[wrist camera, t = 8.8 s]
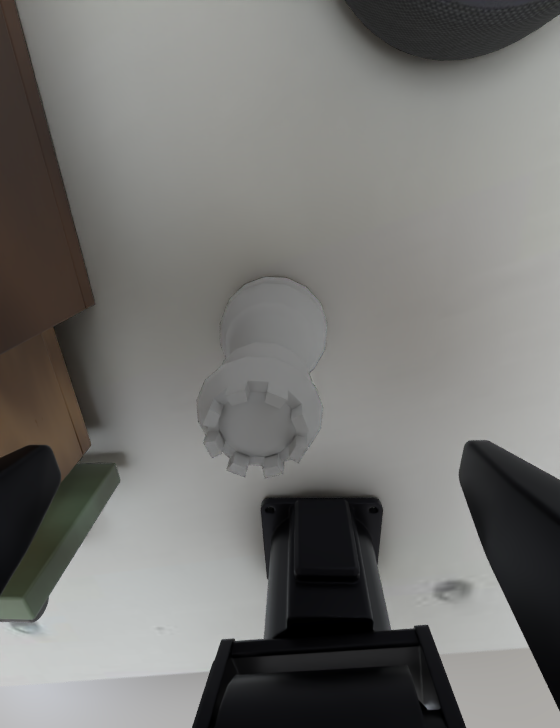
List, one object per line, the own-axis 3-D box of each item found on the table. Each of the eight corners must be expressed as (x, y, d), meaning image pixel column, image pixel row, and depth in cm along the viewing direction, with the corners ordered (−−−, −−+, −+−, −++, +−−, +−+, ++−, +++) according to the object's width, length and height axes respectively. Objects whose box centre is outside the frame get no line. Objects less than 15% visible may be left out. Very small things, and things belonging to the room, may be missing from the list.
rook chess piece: (331, 365, 16) (358, 500, 9) (235, 377, 17) (188, 514, 10) (320, 266, 15) (343, 335, 7) (213, 282, 15) (134, 362, 8)
